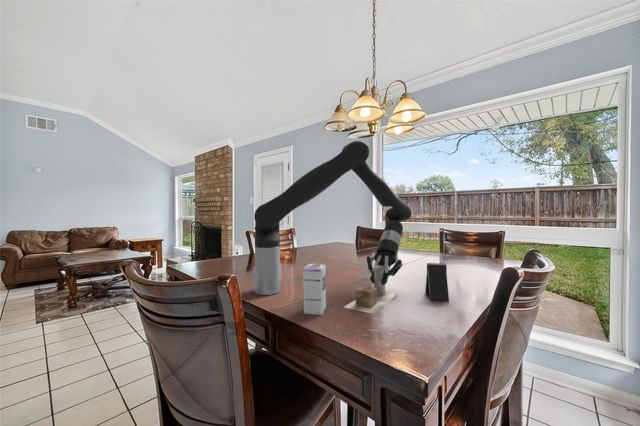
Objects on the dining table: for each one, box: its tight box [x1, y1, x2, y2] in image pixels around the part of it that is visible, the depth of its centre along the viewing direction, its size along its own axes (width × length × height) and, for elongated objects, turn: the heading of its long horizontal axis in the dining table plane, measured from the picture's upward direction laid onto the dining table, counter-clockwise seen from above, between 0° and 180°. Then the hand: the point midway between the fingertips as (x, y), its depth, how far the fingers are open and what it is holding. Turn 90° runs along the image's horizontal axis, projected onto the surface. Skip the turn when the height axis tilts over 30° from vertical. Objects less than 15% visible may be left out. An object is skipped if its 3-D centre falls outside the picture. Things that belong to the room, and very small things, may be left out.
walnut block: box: [355, 285, 377, 309], centre depth 86 cm, size 5×5×5 cm
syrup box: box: [302, 263, 327, 316], centre depth 81 cm, size 6×6×14 cm
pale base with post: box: [343, 266, 398, 315], centre depth 90 cm, size 10×22×11 cm, turn 147°
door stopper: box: [424, 262, 450, 302], centre depth 96 cm, size 9×6×12 cm, turn 169°
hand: (377, 283), depth 94 cm, fingers closed on pale base with post, 3 cm apart
